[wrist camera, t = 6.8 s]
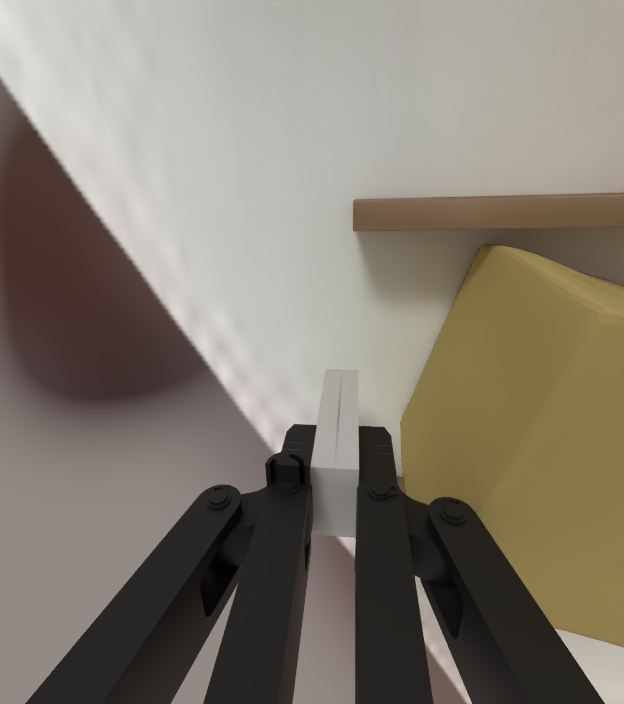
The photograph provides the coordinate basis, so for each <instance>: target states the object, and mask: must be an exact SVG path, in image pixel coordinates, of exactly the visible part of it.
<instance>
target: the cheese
mask: <svg viewBox="0 0 624 704" xmlns="http://www.w3.org/2000/svg"><path fill="white" fill-rule="evenodd" d="M400 425H401V456H402V467H403V475H404V483H405V490H406V495H407V496H408V497H410V498H412V499H414V500H416V501H419V502H422V503H425V504H428V505H430V503H431V502H432V501H433V500H434V499H437V498H440V497H452V498H456V499H459V500H461V501H463V502H465V503H467V504H468V505H469V506H470V507H471V508H472V509H473V510H474V511H475V512H476V514H477V515H478V517H479V518H480V519H481V521H482V522H483V524H484V525H485V527H486V528H487V530H488V531H489V533H490V534H491V536H492V537H493V539H494V540H495V542H496V543H497V545H498V546H499V548H500V549H501V551H502V552H503V554H504V555H505V557H506V558H507V559H508V561H509V562H510V564H511V565H512V567H513V568H514V570H515V571H516V573H517V574H518V576H519V577H520V579H521V580H522V582H523V583H524V585H525V586H526V588H527V589H528V591H529V592H530V594H531V595H532V596H533V598H534V599H535V601H536V602H537V604H538V605H539V607H540V608H541V610H542V611H543V613H544V614H545V616H546V617H547V619H548V620H549V622H550V623H551V625H552V626H553V628H555V629H559V630H564V631H568V632H572V633H576V634H579V635H583V636H586V637H590V638H593V639H597V640H601V641H604V642H607V643H611V644H614V645H618V646H621V647H624V285H620V284H617V283H614V282H610V281H607V280H604V279H600V278H597V277H594V276H590V275H587V274H584V273H580V272H578V271H575V270H573V269H571V268H568V267H566V266H564V265H561V264H559V263H557V262H554V261H552V260H549V259H547V258H544V257H542V256H539V255H536V254H534V253H531V252H527V251H524V250H521V249H517V248H512V247H508V246H502V245H489V244H485V245H483V246H482V247H481V248H480V250H479V251H478V253H477V255H476V257H475V259H474V262H473V264H472V266H471V268H470V270H469V272H468V274H467V276H466V278H465V280H464V282H463V285H462V287H461V289H460V291H459V293H458V295H457V297H456V299H455V301H454V303H453V305H452V307H451V310H450V312H449V314H448V316H447V318H446V320H445V323H444V325H443V327H442V329H441V331H440V333H439V336H438V338H437V340H436V343H435V345H434V347H433V350H432V352H431V354H430V356H429V359H428V361H427V363H426V366H425V368H424V371H423V373H422V375H421V378H420V380H419V383H418V385H417V387H416V389H415V392H414V394H413V396H412V398H411V400H410V402H409V404H408V407H407V409H406V411H405V413H404V415H403V417H402V419H401V423H400Z"/></svg>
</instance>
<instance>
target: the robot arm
mask: <svg viewBox="0 0 624 704" xmlns="http://www.w3.org/2000/svg"><path fill="white" fill-rule="evenodd" d="M265 467H266V479H267V486H266V487H265V488H263V489H261V490H259V491H255V492H251V493H246V494H241V495H240V492H239V491H238V490H237V488H235V487H233V486H230V485H217V486H213V487H211V488H209V489H206V490H205V491H204V492H203V493H202V494H200V495H199V496H198V498H197V499H196V500H195V501H194V502H193V504H192V505H191V506H190V507H189V508H188V510H187V511H186V512H185V513H184V514H183V516H182V517H181V518H180V519H179V521H178V522H177V523H176V524H175V525H174V527H173V528H172V529H171V530H170V531H169V532H168V534H167V535H166V536H165V537H164V538H163V540H162V541H161V542H160V543H159V544H158V545H157V547H156V548H155V549H154V550H153V552H152V553H151V554H150V555H149V556H148V557H147V559H146V560H145V561H144V562H143V563H142V565H141V566H140V567H139V568H138V569H137V571H136V572H135V573H134V574H133V576H132V577H131V578H130V579H129V580H128V582H127V583H126V584H125V585H124V586H123V587H122V589H121V590H120V591H119V592H118V593H117V595H116V596H115V597H114V598H113V599H112V601H111V602H110V603H109V604H108V605H107V607H106V608H105V609H104V610H103V611H102V613H101V614H100V615H99V616H98V617H97V618H96V620H95V621H94V622H93V623H92V624H91V626H90V627H89V628H88V629H87V631H86V632H85V633H84V634H83V635H82V636H81V638H80V639H79V640H78V641H77V642H76V644H75V645H74V646H73V647H72V648H71V650H70V651H69V652H68V653H67V655H66V656H65V657H64V658H63V659H62V660H61V662H60V663H59V664H58V665H57V666H56V668H55V669H54V670H53V671H52V672H51V674H50V675H49V676H48V677H47V678H46V680H45V681H44V682H43V683H42V684H41V686H40V687H39V688H38V689H37V691H35V693H34V694H33V695H32V696H31V697H30V699H29V700H28V701H27V702H26V703H25V704H171V702H172V700H173V698H174V697H175V695H176V693H177V691H178V689H179V688H180V686H181V684H182V682H183V681H184V679H185V677H186V675H187V673H188V671H189V670H190V668H191V666H192V664H193V663H194V661H195V659H196V657H197V655H198V654H199V652H200V650H201V648H202V647H203V644H204V643H205V641H206V639H207V638H208V636H209V634H210V632H211V630H212V628H213V627H214V625H215V623H216V621H217V620H218V618H219V616H220V614H221V613H222V611H223V609H224V607H225V605H226V604H227V602H228V600H229V598H230V597H231V595H232V593H233V591H234V589H235V588H236V586H237V584H238V587H237V590H236V593H235V597H234V600H233V604H232V607H231V610H230V614H229V618H228V621H227V625H226V628H225V631H224V635H223V638H222V642H221V645H220V648H219V652H218V655H217V659H216V662H215V665H214V669H213V672H212V676H211V679H210V682H209V686H208V689H207V693H206V696H205V700H204V703H203V704H292V701H293V694H294V686H295V678H296V669H297V661H298V653H299V645H300V636H301V628H302V620H303V612H304V603H305V596H306V595H305V594H306V587H307V579H308V571H309V563H310V554H311V532H312V534H314V535H327V536H340V537H354V538H356V550H355V704H433V699H432V698H433V697H432V691H431V684H430V677H429V671H428V664H427V657H426V650H425V643H424V637H423V630H422V623H421V616H420V610H419V603H418V596H417V590H416V583H415V576H417V577H420V579H421V583H422V585H423V588H424V590H425V592H426V595H427V597H428V600H429V602H430V604H431V607H432V609H433V611H434V614H435V616H436V619H437V621H438V623H439V626H440V628H441V630H442V633H443V635H444V638H445V640H446V642H447V645H448V647H449V649H450V652H451V654H452V657H453V659H454V661H455V664H456V666H457V668H458V671H459V673H460V676H461V678H462V680H463V683H464V685H465V687H466V690H467V692H468V695H469V697H470V699H471V702H472V704H605V703H604V702H603V700H602V699H601V697H600V696H599V694H598V693H597V691H596V690H595V688H594V687H593V685H592V684H591V682H590V681H589V679H588V678H587V676H586V675H585V674H584V672H583V671H582V669H581V668H580V666H579V665H578V663H577V662H576V660H575V659H574V657H573V656H572V654H571V653H570V651H569V650H568V648H567V647H566V645H565V644H564V642H563V641H562V639H561V638H560V636H559V635H558V634H557V632H556V631H555V629H554V628H553V626H552V625H551V623H550V622H549V620H548V619H547V617H546V616H545V614H544V613H543V611H542V610H541V608H540V607H539V605H538V604H537V602H536V601H535V599H534V598H533V596H532V595H531V594H530V592H529V591H528V589H527V588H526V586H525V585H524V583H523V582H522V580H521V579H520V577H519V576H518V574H517V573H516V571H515V570H514V568H513V567H512V565H511V564H510V562H509V561H508V559H507V558H506V557H505V555H504V554H503V552H502V551H501V549H500V548H499V546H498V545H497V543H496V542H495V540H494V539H493V537H492V536H491V534H490V533H489V531H488V530H487V528H486V527H485V525H484V524H483V522H482V521H481V519H480V518H479V517H478V515H477V514H476V512H475V511H474V510H473V509H472V508H471V507H470V506H469V505H468V504H467V503H465V502H463V501H461V500H459V499H456V498H452V497H440V498H437V499H434V500H433V501H432V502H431V503H430V505H428V504H425V503H422V502H419V501H416V500H414V499H412V498H410V497H408V496H407V495H406V494H405V493H403V492H402V490H401V489H400V487H399V486H398V482H397V476H396V469H395V462H394V454H393V447H392V440H391V435H390V434H389V433H388V431H387V430H386V429H385V427H369V426H359V421H358V370H339V369H326V372H325V378H324V384H323V391H322V397H321V403H320V410H319V416H318V422H317V425H302V424H294V425H293V426H292V427H291V428H290V429H289V430H288V431H287V433H286V436H285V440H284V444H283V447H282V451H281V452H280V453H277V454H274V455H273V456H271V457H270V458H269V459H268V460H267V462H266V464H265ZM414 575H415V576H414ZM238 582H239V583H238Z"/></svg>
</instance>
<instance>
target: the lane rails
mask: <svg viewBox="0 0 624 704" xmlns="http://www.w3.org/2000/svg"><path fill="white" fill-rule="evenodd" d="M578 227H624V193H601V194H561V195H521V196H482V197H442V198H402V199H362V200H354V203H353V231H393V230H455V229H516V228H578ZM397 482H398V486H399V487H400V489H401V490H402V492H403V493H405V494H406V490H405V483H404V477H397Z"/></svg>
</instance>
